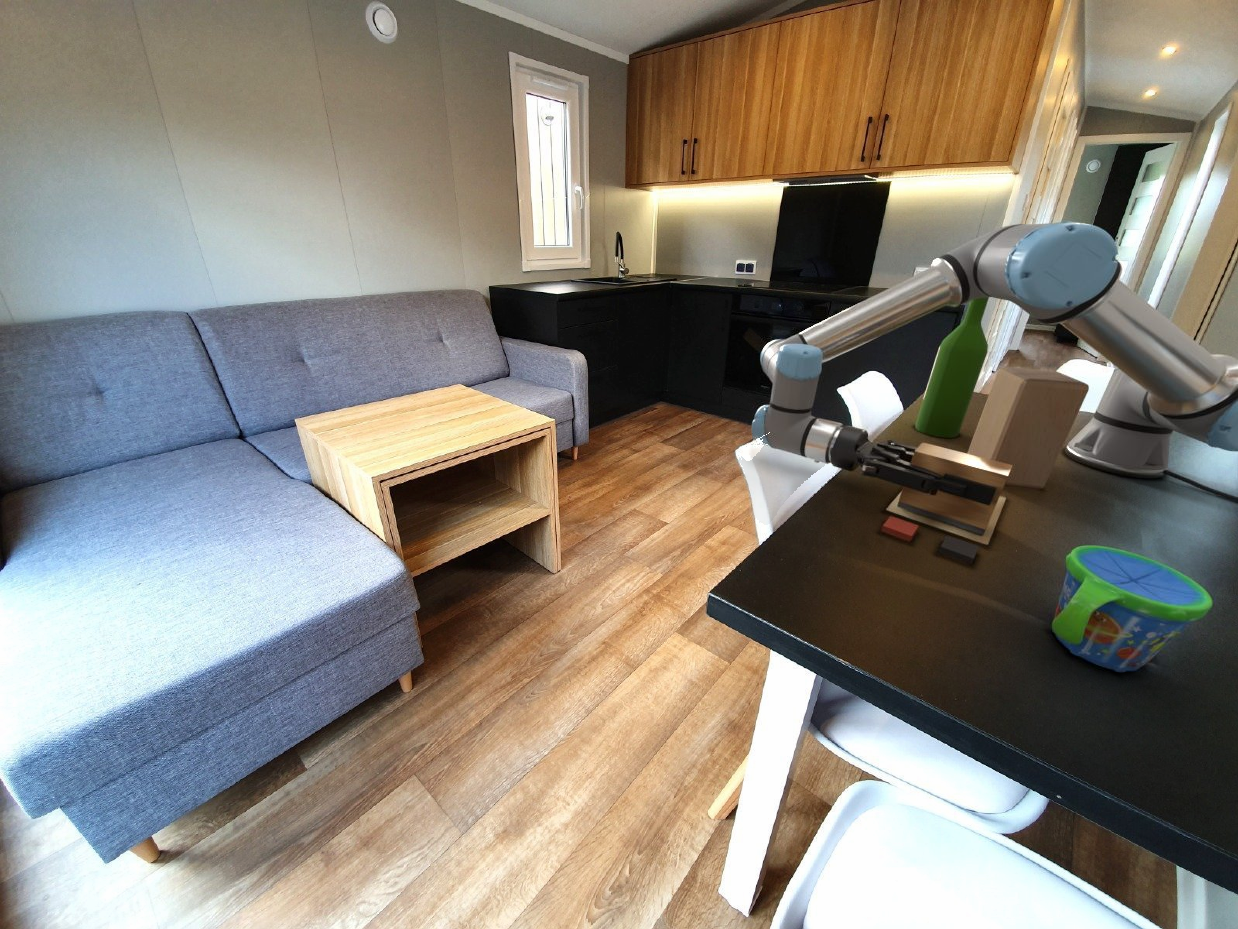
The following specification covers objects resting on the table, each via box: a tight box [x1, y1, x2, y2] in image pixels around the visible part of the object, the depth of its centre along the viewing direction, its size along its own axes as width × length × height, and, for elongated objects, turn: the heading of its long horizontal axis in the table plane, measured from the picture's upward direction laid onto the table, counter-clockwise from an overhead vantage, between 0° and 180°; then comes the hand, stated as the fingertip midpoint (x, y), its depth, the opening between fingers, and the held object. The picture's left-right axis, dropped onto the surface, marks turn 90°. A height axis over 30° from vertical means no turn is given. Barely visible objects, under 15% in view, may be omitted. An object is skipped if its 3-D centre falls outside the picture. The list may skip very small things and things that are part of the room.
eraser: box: [897, 442, 1013, 535], centre depth 76 cm, size 12×5×10 cm, turn 48°
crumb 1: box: [880, 515, 920, 543], centre depth 74 cm, size 4×4×2 cm
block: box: [966, 366, 1090, 490], centre depth 89 cm, size 10×10×20 cm
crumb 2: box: [938, 535, 980, 565], centre depth 69 cm, size 4×4×2 cm
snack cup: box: [1051, 545, 1213, 673], centre depth 52 cm, size 16×10×10 cm
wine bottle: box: [914, 297, 990, 439], centre depth 109 cm, size 9×9×32 cm
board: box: [886, 490, 1007, 545], centre depth 82 cm, size 14×20×1 cm
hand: (995, 489), depth 72 cm, fingers closed on eraser, 5 cm apart
